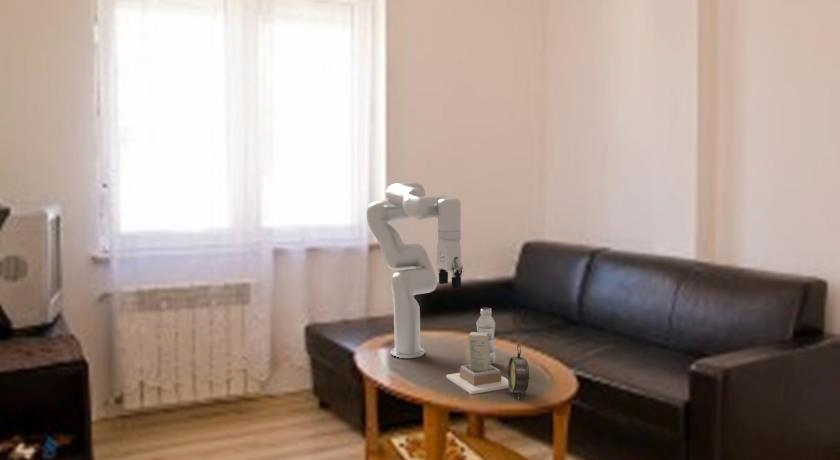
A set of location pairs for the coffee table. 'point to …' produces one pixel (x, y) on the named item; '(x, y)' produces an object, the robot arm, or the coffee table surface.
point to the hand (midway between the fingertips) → (449, 286)
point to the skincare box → (479, 351)
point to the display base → (480, 387)
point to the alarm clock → (518, 374)
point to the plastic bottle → (487, 329)
